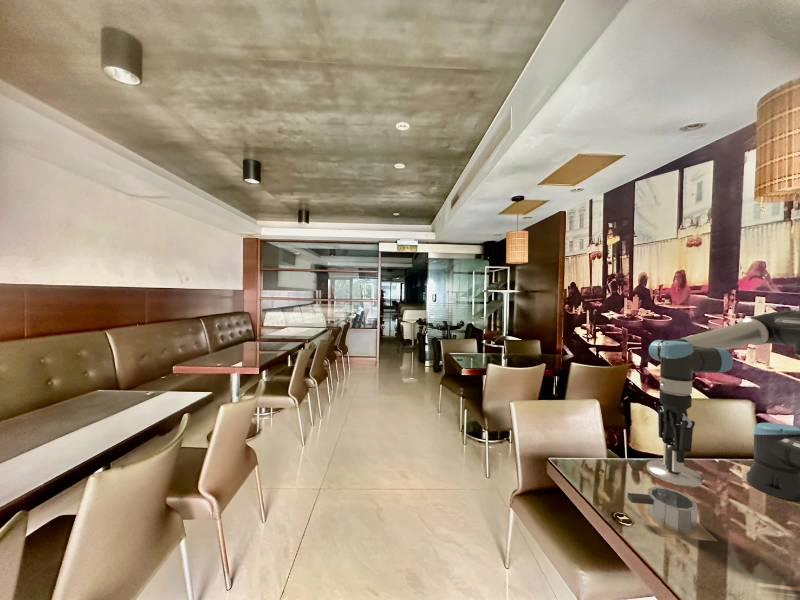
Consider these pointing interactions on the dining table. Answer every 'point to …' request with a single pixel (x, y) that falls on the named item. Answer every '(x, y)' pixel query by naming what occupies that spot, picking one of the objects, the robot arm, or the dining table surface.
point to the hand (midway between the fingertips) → (673, 467)
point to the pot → (669, 509)
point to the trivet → (699, 535)
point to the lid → (675, 478)
